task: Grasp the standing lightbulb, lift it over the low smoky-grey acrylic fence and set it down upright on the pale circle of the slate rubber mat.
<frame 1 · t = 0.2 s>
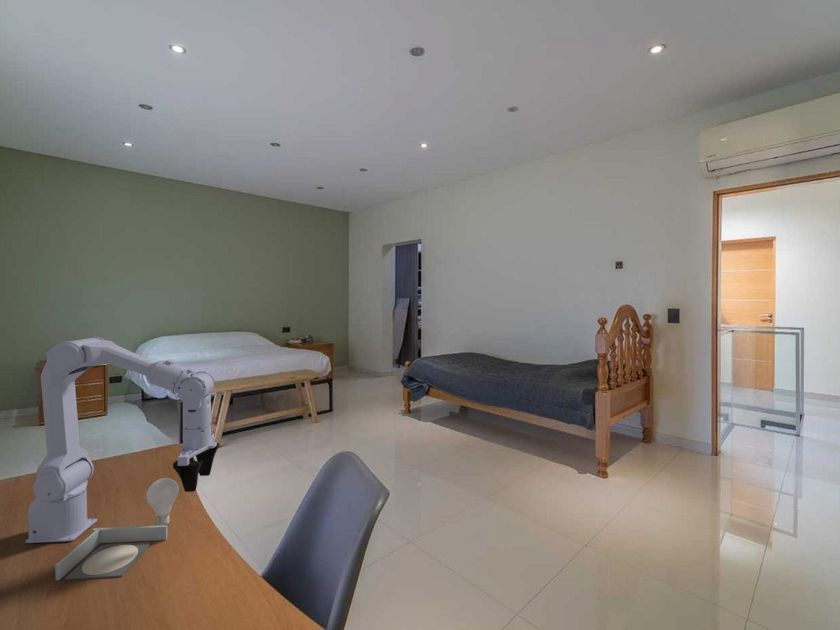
hand: (197, 482, 93), 10 cm above the table, tool pointing down, fingers open, 7 cm apart
acrylic fence: (120, 551, 83), on the table
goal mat: (111, 560, 80), on the table
lightbulb: (163, 526, 93), on the table
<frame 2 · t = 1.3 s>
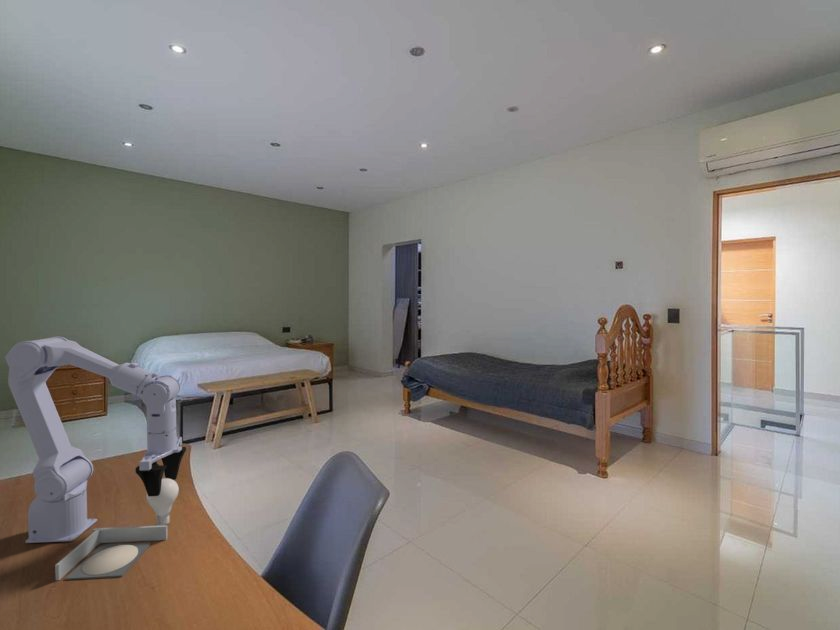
hand: (162, 487, 92), 9 cm above the table, tool pointing down, fingers open, 7 cm apart
nothing on the table moved.
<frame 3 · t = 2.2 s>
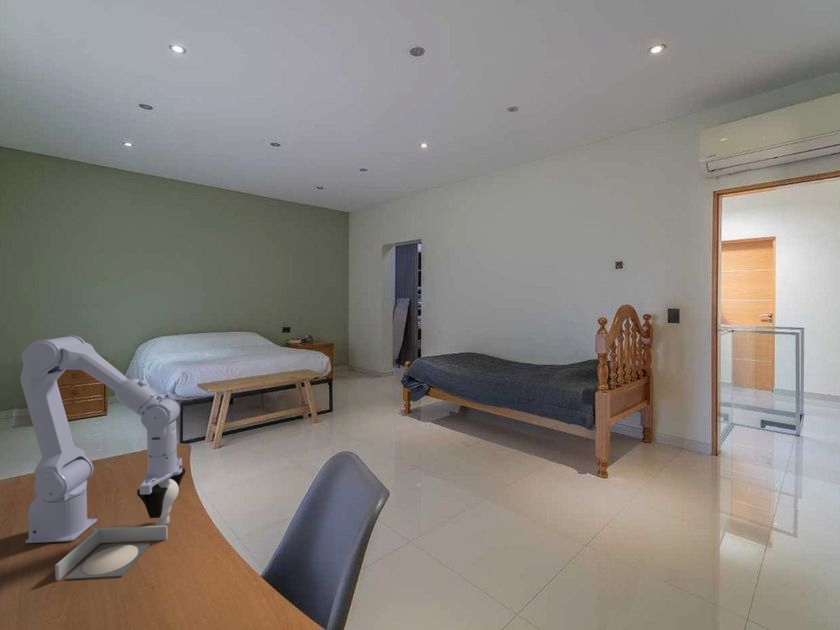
hand: (163, 509, 93), 4 cm above the table, tool pointing down, fingers closed on lightbulb, 6 cm apart
lightbulb: (163, 526, 93), on the table, touching gripper
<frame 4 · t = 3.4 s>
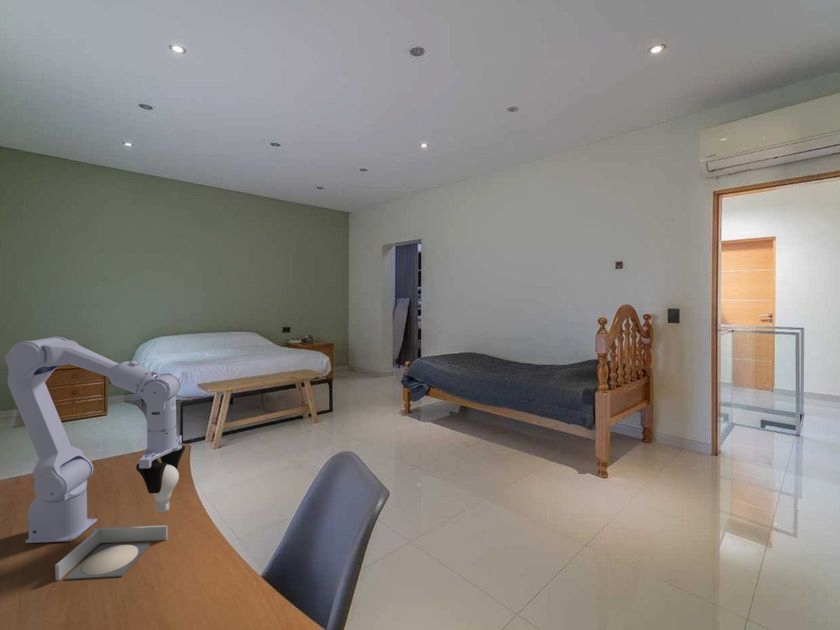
hand: (162, 485, 92), 10 cm above the table, tool pointing down, fingers closed on lightbulb, 6 cm apart
lightbulb: (163, 512, 92), point 3 cm above the table, touching gripper
when the fingers open (10 cm above the table, at t = 4.3 s): lightbulb drops 2 cm, resting on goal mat.
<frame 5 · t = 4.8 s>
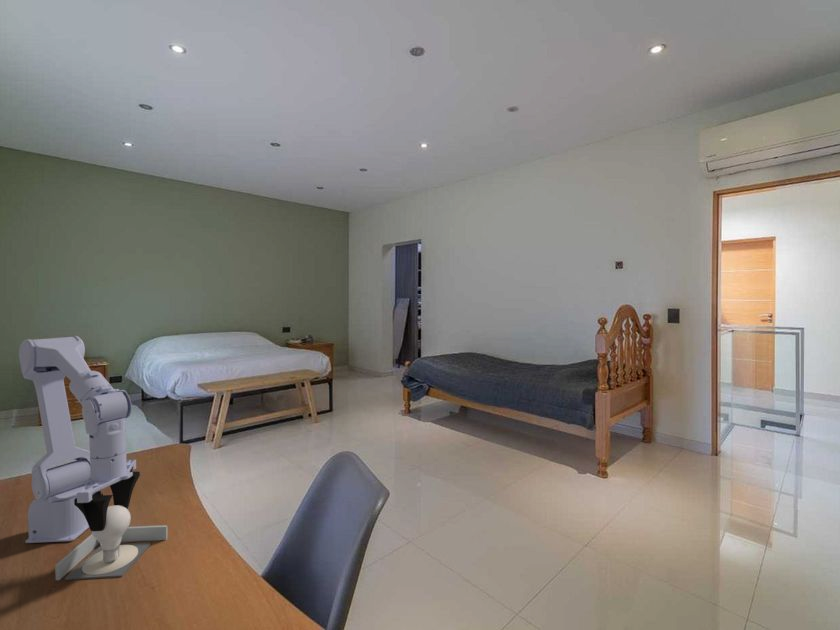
hand: (110, 519, 80), 9 cm above the table, tool pointing down, fingers open, 7 cm apart
lightbulb: (111, 561, 80), resting on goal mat, touching gripper
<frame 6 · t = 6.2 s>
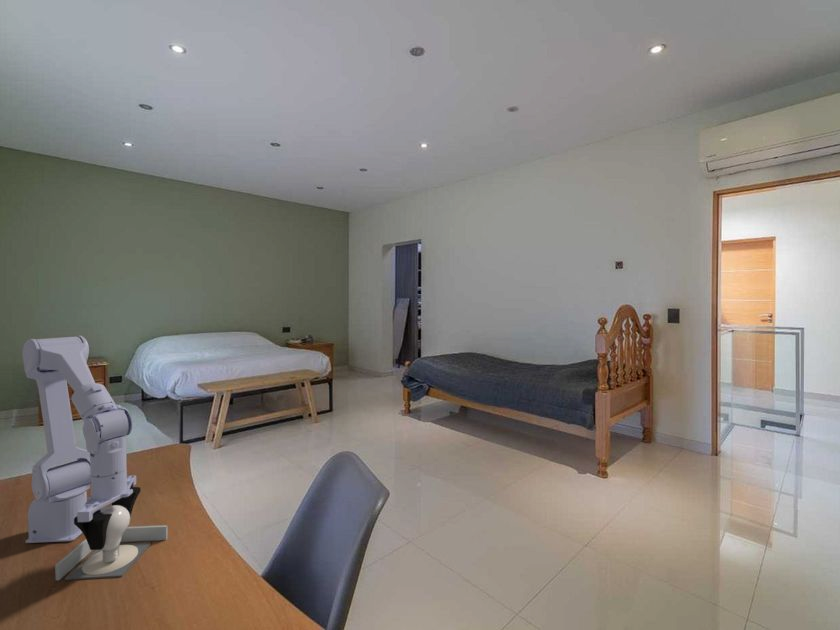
hand: (110, 536, 80), 5 cm above the table, tool pointing down, fingers open, 7 cm apart
nothing on the table moved.
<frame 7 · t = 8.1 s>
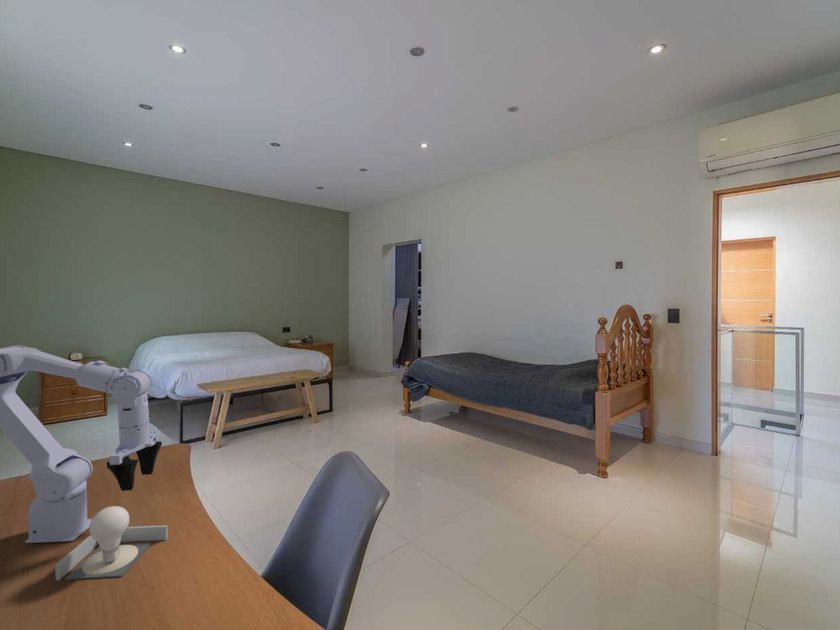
hand: (137, 481, 92), 10 cm above the table, tool pointing down, fingers open, 7 cm apart
lightbulb: (110, 561, 80), resting on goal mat
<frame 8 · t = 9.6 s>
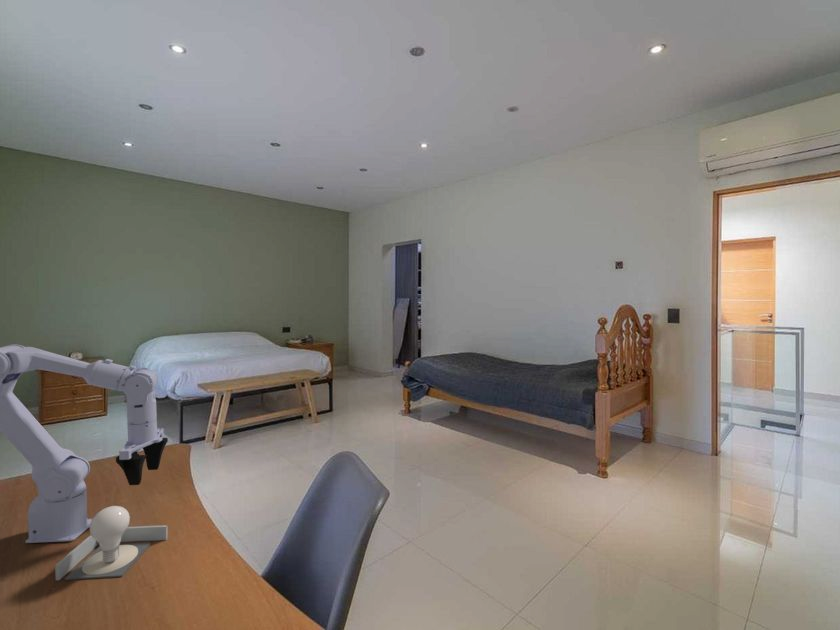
hand: (144, 476, 95), 10 cm above the table, tool pointing down, fingers open, 7 cm apart
nothing on the table moved.
at the end: lightbulb 0.8 cm off-centre on the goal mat, point 0.2 cm above the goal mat's base; lightbulb tilted 1°; the gripper is holding nothing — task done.
